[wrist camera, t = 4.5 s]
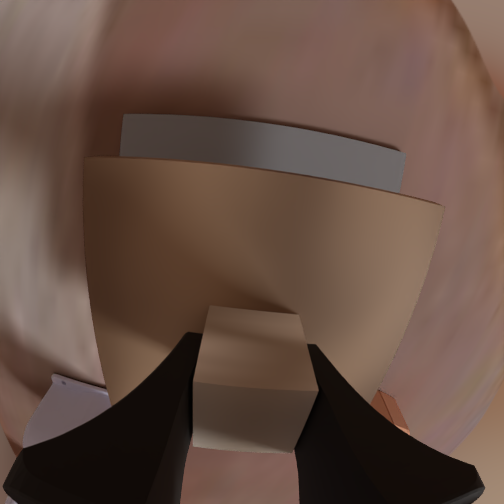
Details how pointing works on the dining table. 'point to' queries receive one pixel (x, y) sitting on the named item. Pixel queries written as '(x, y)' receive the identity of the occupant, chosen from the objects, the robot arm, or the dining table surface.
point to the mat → (261, 148)
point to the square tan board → (249, 285)
